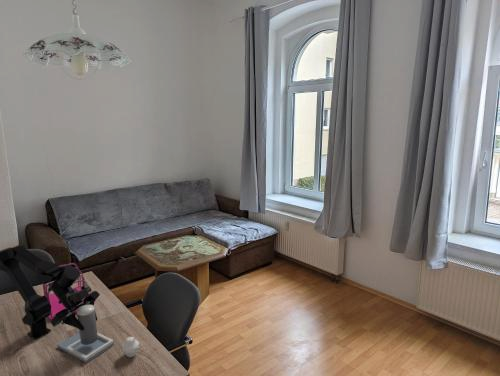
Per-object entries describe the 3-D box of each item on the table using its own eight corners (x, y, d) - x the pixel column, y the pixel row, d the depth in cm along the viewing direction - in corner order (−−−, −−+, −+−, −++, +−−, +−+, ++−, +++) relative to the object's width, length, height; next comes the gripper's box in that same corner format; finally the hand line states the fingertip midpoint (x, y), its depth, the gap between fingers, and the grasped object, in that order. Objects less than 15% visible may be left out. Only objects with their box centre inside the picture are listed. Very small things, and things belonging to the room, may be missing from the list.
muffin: (135, 346, 136) (134, 330, 134) (142, 354, 131) (141, 337, 130) (119, 354, 132) (118, 337, 130) (126, 362, 127) (125, 345, 126)
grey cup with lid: (78, 339, 135) (74, 308, 132) (95, 333, 139) (91, 302, 136) (82, 346, 130) (78, 315, 128) (99, 340, 134) (96, 309, 131)
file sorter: (81, 288, 183) (77, 260, 180) (92, 309, 163) (88, 277, 160) (42, 299, 173) (38, 269, 170) (50, 322, 153) (45, 289, 150)
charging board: (57, 347, 136) (56, 342, 136) (85, 330, 146) (85, 326, 146) (86, 363, 127) (85, 358, 127) (114, 344, 137) (113, 340, 137)
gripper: (52, 293, 123) (79, 328, 121) (93, 271, 140) (118, 301, 138) (39, 309, 127) (65, 343, 126) (81, 286, 144) (104, 316, 142)
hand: (90, 325), depth 133 cm, fingers closed on grey cup with lid, 6 cm apart
